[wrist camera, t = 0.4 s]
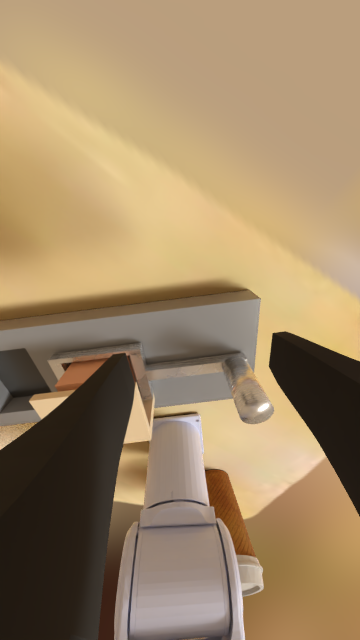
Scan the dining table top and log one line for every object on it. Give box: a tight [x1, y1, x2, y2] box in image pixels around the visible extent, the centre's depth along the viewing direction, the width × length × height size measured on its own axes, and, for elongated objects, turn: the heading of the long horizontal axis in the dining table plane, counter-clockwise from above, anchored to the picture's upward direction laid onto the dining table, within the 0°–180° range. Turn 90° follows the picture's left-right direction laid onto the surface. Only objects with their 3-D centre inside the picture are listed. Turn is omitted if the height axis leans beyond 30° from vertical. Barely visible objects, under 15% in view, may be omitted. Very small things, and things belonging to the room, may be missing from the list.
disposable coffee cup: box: [205, 470, 264, 597], centre depth 29 cm, size 10×10×12 cm
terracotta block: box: [55, 356, 136, 392], centre depth 17 cm, size 5×4×4 cm
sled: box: [47, 343, 274, 424], centre depth 16 cm, size 18×6×6 cm, turn 96°
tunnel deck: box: [0, 290, 261, 444], centre depth 18 cm, size 31×12×7 cm, turn 96°
